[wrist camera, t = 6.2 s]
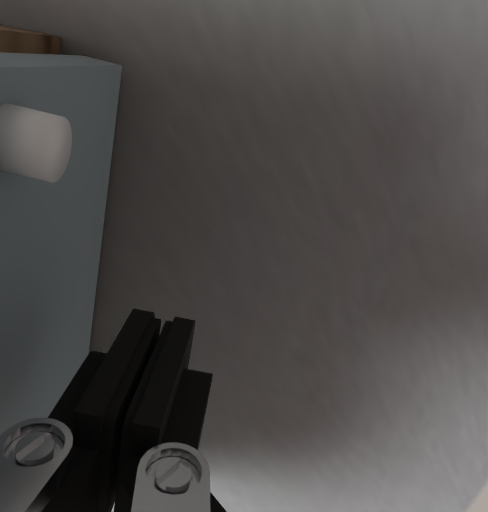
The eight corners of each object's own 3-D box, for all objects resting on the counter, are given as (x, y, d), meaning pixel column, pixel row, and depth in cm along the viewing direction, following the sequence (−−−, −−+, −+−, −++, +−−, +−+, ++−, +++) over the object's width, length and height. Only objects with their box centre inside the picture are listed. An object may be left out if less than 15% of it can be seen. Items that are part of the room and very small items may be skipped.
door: (83, 55, 14) (-534, 32, 3) (155, 73, 14) (-228, 107, 3) (47, 466, 21) (-198, 897, 10) (96, 478, 21) (-96, 919, 10)
